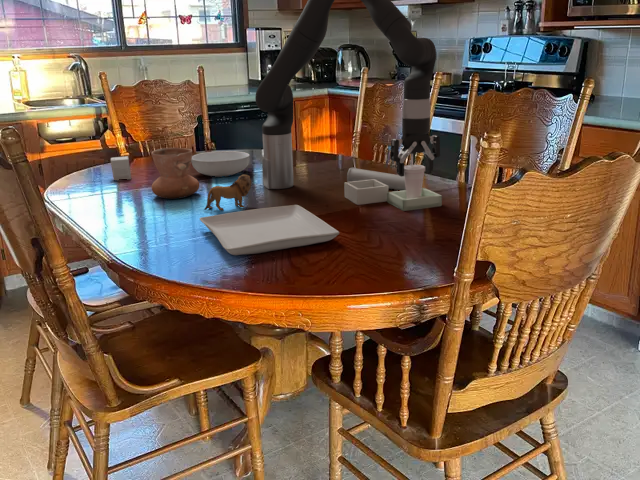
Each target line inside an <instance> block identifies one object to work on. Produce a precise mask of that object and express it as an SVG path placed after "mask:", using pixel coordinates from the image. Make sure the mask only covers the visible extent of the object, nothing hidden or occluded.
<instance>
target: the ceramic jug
mask: <svg viewBox="0 0 640 480" xmlns="http://www.w3.org/2000/svg"><path fill="white" fill-rule="evenodd" d="M192 156H193V149H192V148H191V149H190V148H185V147H165V148H164V147H163V148H159V149H155V150H153V151H151V157H152V160H153V164H154V165H155V167H156V170H157V171H158V173H159V174H160V176H159V177H157V179H155V180H154V181H153V182H152V185H151V191H152V194H154V195H156V196H157V197H159V198H162V199H169V200H175V199H176V200H177V198H178V199H184V198H187V197H189V196H192V195H194V194H196V192H198V190H199V189H200V182H199V181H198V179H197V178H195V177H194V176H192V175H190V174H189V170H190V167H191V165H192V162H191V160H192Z"/></svg>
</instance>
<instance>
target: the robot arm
mask: <svg viewBox="0 0 640 480" xmlns="http://www.w3.org/2000/svg"><path fill="white" fill-rule="evenodd" d="M360 1H361V2H362V3H363V5H364V6H365V8H366V11H368V13H369V16H370V18H371V20H372V22H373V23H374V25H375V26H376V27H377V29H379V31H380V32H381V33H382V34H383V36H384V37H385V38H386V39H388V41H389V42H390V44H391V47H392V49H393V50H394V53H395V54H396V56H397V58H398V59H399V60H400V61H401V62H402V63H403V64H404V65H406V66H408V67H411V70H410V74H409V75H408V76H407V77H405V78H404V81H403V101H402V111H401V114H402V116H401V119H402V120H401V132H402V133H401V134H402V136H401V138H395V137H394V138H392V139H391V140H390V152H389V153H390V154H389V159H390V160H391V161H393V162H396V175H399V176H401V177H402V176H404V166H405V160H406V159H407V158H408V157H409V156H411V154H413V155H414V154H417V153H418V154H423V155H424V156H425V158H426V159H425V171H424V172H425V173H426V174H431V173H432V172H433V170H434V161H435V159H436V158H439V157H440V156H441V137H440V136H439V135H437V134H432V135H431V136H430V131H431V112H432V110H431V106H432V105H431V81H432V77H433V74H434V70H435V67H436V66H435V65H436V61H437V49H436V46H435V44H434V43H435V42H434V41H433V40H432V39H430V38H428V37H416V36H415V35H414V33H413V32H412V24H411V21H410V20H409V19H408V18H407V16H405V15H404V14H403V12H402V11H401V10H400V9H399V8H398V7H397V6H396V5H395V4H394V3H393V1H392V0H360ZM334 3H335V0H307V1H306V4H305V5H304V6H303V7H304V8H303V10H302V12H301V13H300V15H299V16H298V18H297V20H296V21H295V23H294V25H293V27H292V29H291V31H290V32H289V35H288V37H287V39H286V41H285V42H284V45H283V47H282V49H281V50H280V51H279V54H278V55H277V58H276V60H275V62H274V63H273V65H272V66H271V68H270V69H269V70H268V72H267V74H266V75H265V77H264V78H263V80H261V82H260V84H258V87H257V89H256V92H255V97H254V99H255V103H256V106H257V108H258V109H259V110H260V111H262V112H263V113H267V118H266V119H265V121H264V122H263V124H262V126H261V133H262V148H263V149H262V150H263V156H262V157H261V163H262V178H263V179H262V180H263V186H264V187H265V188H266V189H268V190H270V189H271V190H280V189H289V188H292V187H293V186H294V168H293V167H294V164H293V163H294V162H293V141H292V139H293V138H292V137H293V136H292V127H293V122H294V93H293V89H292V88H291V86H290V83H291V82H292V80H293V79H294V78H295V76H296V75H297V74H298V73H299V72H300V71H301V70H302V69H303V68H304V67H305V66H306V65H307V64H308V63H309V62H310V61H311V59H312V58H313V57H314V56H315V55H316V53H317V52H318V50H319V48H320V47H321V45H322V43H323V41H324V39H325V37H326V35H327V31H328V25H329V15H330V11H331V8H332V6H333V4H334ZM429 144H431V149H430V148H429V146H428V145H429ZM401 145H402V148H401V149H400V150H399V148H400V147H401Z"/></svg>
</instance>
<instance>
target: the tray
mask: <svg viewBox="0 0 640 480" xmlns="http://www.w3.org/2000/svg"><path fill="white" fill-rule="evenodd" d="M442 201H443V195H441V194H439V193H437V192H434V191H433V190H430V189H428V188H426V187H422V192H421V197H418V198H410V199H407V195H406V190H402V191H398V190H394V191H388V192H387V201H386V202H387V204H389V205H392V206H393V207H395V208H397V209H399V210H400V211H402V212H405V211H413V210H415V211H416V210H421V209H429V208H438V207H442V204H443V203H442Z"/></svg>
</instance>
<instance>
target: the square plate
mask: <svg viewBox="0 0 640 480" xmlns="http://www.w3.org/2000/svg"><path fill="white" fill-rule="evenodd" d="M199 221H200V222H202V224H204V226H205V227H206V228H207V229H208V230H209V231H211V233H212V234H213V235H214V236H215V237H216V239H217V240H218V241H219V243H220V245H221V246H222V248H223V249H224V250H226V252H227V253H229V254H230V255H232V256H241V255H254V254H261V253H267V252H272V251H278V250H284V249H285V250H286V249H290V248H297V247H305V246H309V245H314V244H320V243H325V242H329V241H331V240H333V239H335V238H337V236H338V235H340V231H339V230H337V229H336V228H334V227H333V226H332V225H330V224H328V223H327V222H325V221H324V220H323V219H321V218H319V217H318V216H316V215H315V214H314V213H312V212H310V211H309V210H307V209H305V208H304V207H302V206H301V205H298V204H292V205H282V206H281V205H280V206H272V207H263V208H256V209H247V210H241V211H240V210H239V211H234V212H233V211H232V212H227V213H221V214H215V215H209V216H203V217H202V216H201V217H200V218H199Z"/></svg>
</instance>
